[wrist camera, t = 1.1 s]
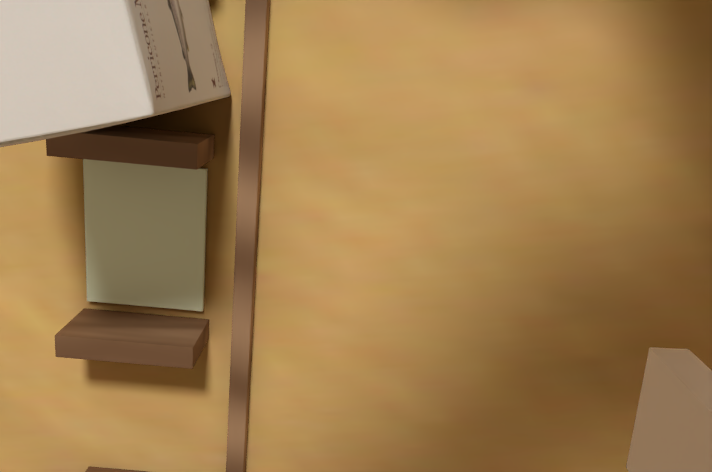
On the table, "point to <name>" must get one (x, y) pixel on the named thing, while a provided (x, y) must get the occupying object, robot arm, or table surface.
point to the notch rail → (189, 335)
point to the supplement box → (102, 64)
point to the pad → (145, 234)
